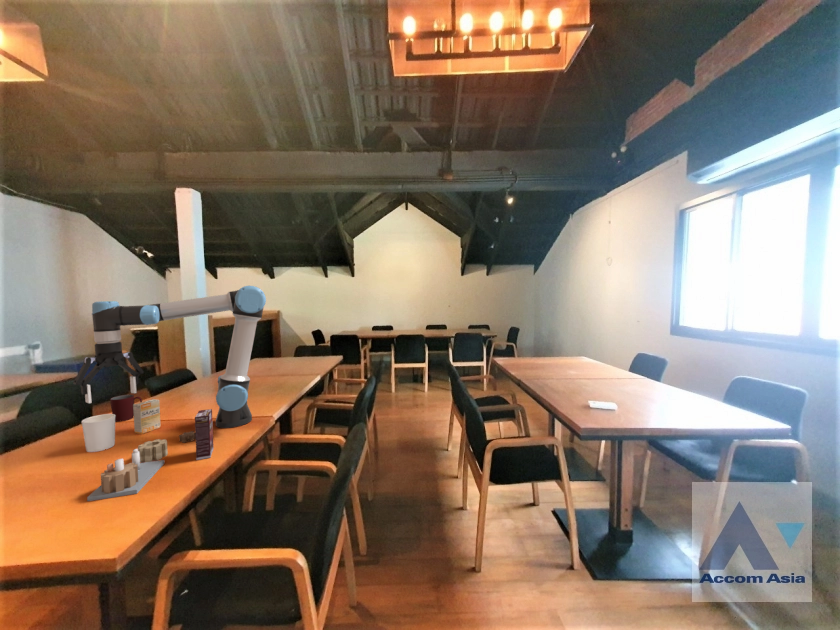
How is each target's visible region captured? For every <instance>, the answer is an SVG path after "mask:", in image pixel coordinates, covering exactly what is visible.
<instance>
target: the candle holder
mask: <svg viewBox="0 0 840 630" xmlns="http://www.w3.org/2000/svg"><path fill="white" fill-rule="evenodd" d="M81 426H82V433H83V440H84V445H85V451H86V453H87V452H88V453H96V452H101V451H106V450H108V449H110V448H113V447H114V446H115V444H116V422H115V414H112V413H103V414H98V415H97V414H96V415H93V416H90V417H86V418H84V419H82V420H81ZM105 449H106V450H105Z"/></svg>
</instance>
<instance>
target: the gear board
mask: <svg viewBox="0 0 840 630" xmlns="http://www.w3.org/2000/svg"><path fill="white" fill-rule="evenodd" d="M124 461H125V460H124V458H118V459H116V460H114V463H108V464H106V469H105V470H104V472H101V473H100V484H101V485H99V486H98V487H97V488H96V489H95V490H93V491H92V492H91V493H90V494H89V495H88V496H87V497H86V501H87V502H91V501H97V500H98V501H99V500H105V499H111V498H116V497H117V498H119V497H124V496H129V495H137V494H138V493H139V492H140V491H141V490H142V489H143V488H144V486H146V484H147V483H149V481H150V480H151V479H152V477H154V475H155V474H156V473H157V472H158V471H159V470H160V469H161V468H162V467H163V466H164V464H165V459H159V460H153V461H152V462H145V461H144V462H140V453H139V451H138V448H135V449H133V450H132V452H131V462H129V463H126V464H125V462H124Z"/></svg>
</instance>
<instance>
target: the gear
mask: <svg viewBox="0 0 840 630" xmlns="http://www.w3.org/2000/svg"><path fill="white" fill-rule="evenodd" d="M178 437H179V442H180V443H182V444H183V443H187V442H193V441H195V440H196V434H195V430H191V431H187V432H186V431H185V432H183V433H182V434H179V436H178Z"/></svg>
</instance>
